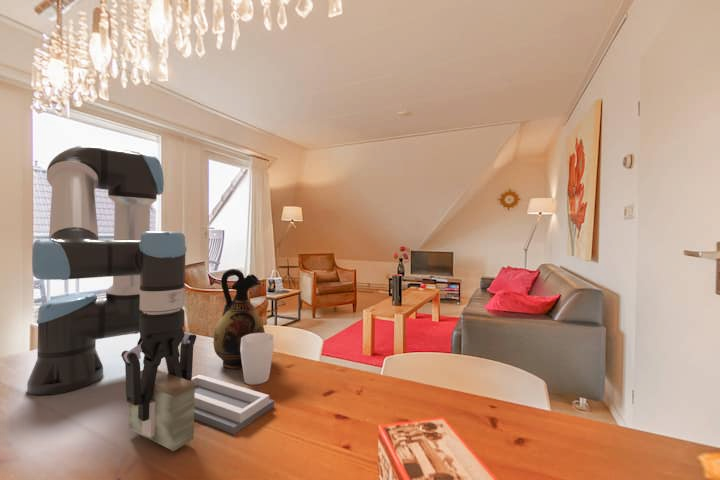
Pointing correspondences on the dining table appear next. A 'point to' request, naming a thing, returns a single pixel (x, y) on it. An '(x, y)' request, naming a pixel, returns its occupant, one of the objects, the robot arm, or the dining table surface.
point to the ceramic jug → (236, 319)
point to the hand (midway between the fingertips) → (160, 427)
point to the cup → (256, 357)
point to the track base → (223, 420)
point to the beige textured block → (169, 411)
